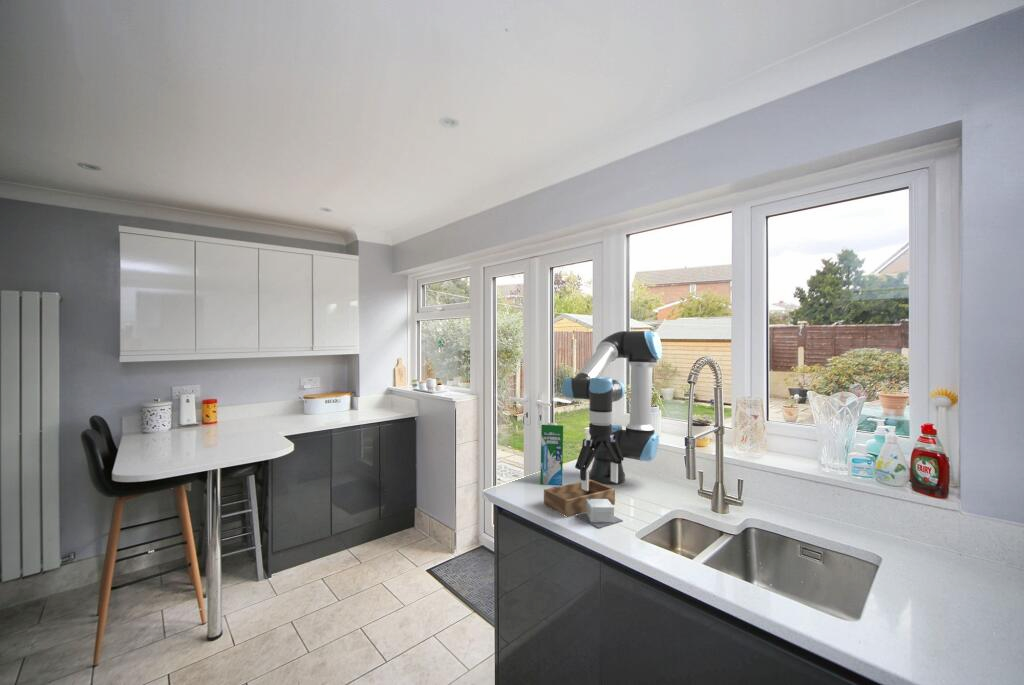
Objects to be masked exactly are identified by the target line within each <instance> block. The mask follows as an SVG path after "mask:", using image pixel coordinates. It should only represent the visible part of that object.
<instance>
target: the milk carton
mask: <svg viewBox="0 0 1024 685" xmlns="http://www.w3.org/2000/svg"><path fill="white" fill-rule="evenodd" d="M540 432H541V433H540V434H541V435H540V439H541V440H540V444H541V445H540V482H539V484H540V485H546V486H563V470H564V469H563V465H564V464H563V460H564V459H563V458H564V457H563V456H564V425H559V424H558V423H557V422H547V424H541V430H540Z"/></svg>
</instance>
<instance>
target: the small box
mask: <svg viewBox="0 0 1024 685" xmlns="http://www.w3.org/2000/svg"><path fill="white" fill-rule="evenodd" d="M585 513H586V514H587V516H588V518H589V519H590V521H591V522H594V523H599V522H609V523H612V522H614V516H615V506H614V505H612V504H611V503H610V501H609V500H608V499H586V512H585Z"/></svg>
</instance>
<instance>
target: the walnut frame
mask: <svg viewBox="0 0 1024 685" xmlns="http://www.w3.org/2000/svg"><path fill="white" fill-rule="evenodd" d="M586 499H608V500H609V501H610V503H611V504H612V505H613V506H614V505H616V489H615V488H613V487H610V486H608V485H605V484H604V483H600V482H596V481H594V480H592V479H591V478H589V491H586V490H584V489H581V481H577V482H573V483H568V484H562V485H557V486H555V487H554V486H553V487H550V488H545V489H543V506H545V505H546V506H545V507H547V506H548V507H547V508H549V509H550V510H553V511H554V510H555V512H556V511H557V513H558V512H559V513H558V514H560V513H561V514H560V515H562V514H563V515H562V516H564V515H565V516H567V517H566V518H568V516H570V517H572V515H573V516H576V514H577V515H578V514H582V513H586ZM565 516H564V517H565Z"/></svg>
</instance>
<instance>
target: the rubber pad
mask: <svg viewBox="0 0 1024 685" xmlns="http://www.w3.org/2000/svg"><path fill="white" fill-rule="evenodd" d="M575 517H576V518H578V519H579V518H580V520H581V519H582V521H584V522H585V521H586V522H585V523H587V524H589V525H591V526H593V527H594V528H596V527H597V528H596V529H598V528H599V529H602V528H605V527H608V526H612V525H615V524H618V523H622V522H623V519H621V518H619V517H617V516H615V515H614V522H612V523H609V522H599V523H594V522H591V521H590V519H589V518H588V516H587V514H586V512H584V513H581V514H577V515H575Z"/></svg>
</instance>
